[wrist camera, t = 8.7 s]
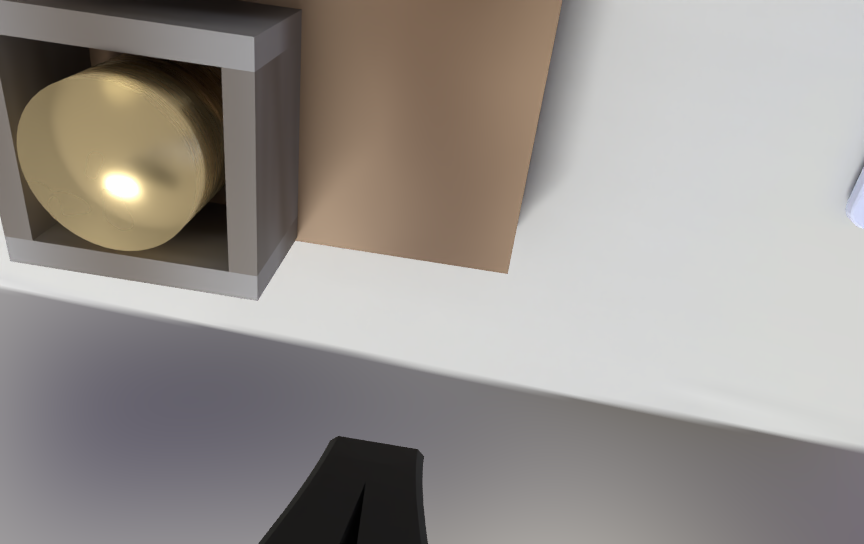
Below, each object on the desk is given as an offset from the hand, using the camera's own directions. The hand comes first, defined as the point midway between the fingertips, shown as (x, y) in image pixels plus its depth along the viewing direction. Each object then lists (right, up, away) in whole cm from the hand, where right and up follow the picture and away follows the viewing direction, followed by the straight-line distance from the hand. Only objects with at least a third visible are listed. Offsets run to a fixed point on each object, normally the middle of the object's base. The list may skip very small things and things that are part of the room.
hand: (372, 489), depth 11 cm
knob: (-5, +7, +5) cm, 10 cm away
